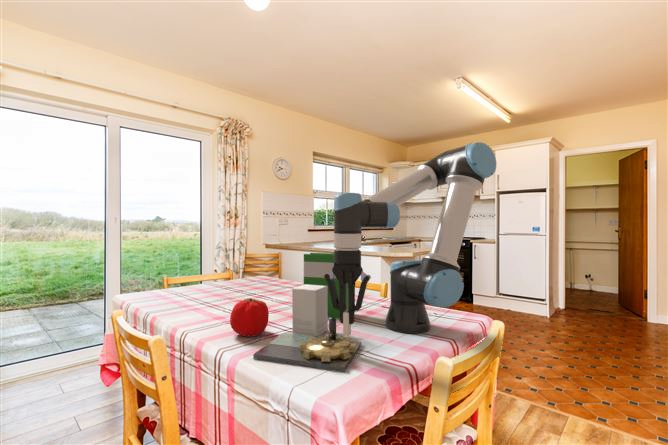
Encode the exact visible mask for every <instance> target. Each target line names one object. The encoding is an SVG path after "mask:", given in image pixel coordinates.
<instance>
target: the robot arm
mask: <svg viewBox="0 0 668 445" xmlns="http://www.w3.org/2000/svg"><path fill="white" fill-rule="evenodd" d="M496 170H497V159H496V155H495V153H494V151H493V149H492V148H491V147H490V146H489V145H488V144H486V143H484V142H479V141H476V142H473V143H470V142H469V143H468V144H466V145H462V146H459V147H456V148H451V149H449V150H446V151H443V152H441V153H439V154H438V155H436V156H434V157H432V158H431V159H429V160H427V161H426V162H424V163H423V164H421V165H419V166H418V167H417V169H416V171H414V172H412V173H410V174H409V175H406V176H404V177H403V178H401V179H399V180H397V181H396V182H394V183H393V184H391V185H389V186H387V187H385V188H383V189H381V190H379V191H378V192H376V193H374V194H372V195H371V196H368V197H366V198H365V199H364V200H363V199H362V195H361V194H360V193H357V192H341V193H337V194H335V196H334V201H333V248H334V251H333V253H334V266H333V268H332V271H331V272H329V273H327V274H325V275H324V277H325V279H326V281H327V282H328V286H329V291H330V295H331V300H332V304H333V308H334V309H337V310H339V311H340V318H339V323H340V324H342V331H343V332H342V338H343V337H346V338H349V337H350V336H351V334H352V325H353V324H354V323H355V312H358V311H360V309H361V308H362V306H363V303H364V302H363V301H364V297H365V293H366V289H367V285H368V283H369V281H370V280H371V278H372V276H371V275H370V274H367V273H365V272H364V269H363V267H362V251H361V250H360V249H361V248H362V228H363V229H390V228H395V227H397V225H398V224H399V222H400V219H401V211H400V207H399V206H401V205H403V204H404V203H406V202H408V201H410V200H412V199H413V198H414V197H416V196H418V195H420V194H422V193H423V192H425V191H427V190H429V191H430V190H434V189H436V188H438V187H441V186H444V185H447V186H448V187H447V190H446V194H445V198H444V201H443V204H442V208H441V210H440V211H441V212H440V215H439V218H438V221H437V224H436V228H435V231H434V234H433V238H432V242H431V245H430V249H429V253H428V254H425V255H424V256H422V259H421V260H418V259H417V260H398V261H393V262H391V264H390V270H389V274H390V303H389V304H390V305H389V307H388V311H387V314H386V316H385V327H386V328H387V329H389V330H391V331H394V332H398V333H405V334H420V333H425V332H428V331H430V330H431V321H430V318H429V314H428V312H427V309H426V305H425V304H428V306H429V305H430V306H431V307H438V308H450V307H451V306H453V305H455V304H456V303H457V302H458V301H459V300H460V299H461V296H462V295H463V292H464V287H465V285H464V284H465V283H464V282H463V277H462V274H460V270H461V266H460V265H459V263H458V258H459V254H460V250H461V247H462V243H463V239H464V237H465V232H466V229H467V226H468V222H469V218H470V214H471V211H472V207H473V203H474V199H475V196H476V192H478V191H480V190H481V189H483V186H484V183H485V179H489V178H490V177H491V176H493V175H494V174H495V172H496ZM334 275H335V277H336V278H337V280H338V281H339V299H338V295H337V290H336V286H335V281H334ZM359 278H360V280H361V283H360V286H359V289H358V293H357V294H358V295H357V298H356V282H357V281H358V280H359ZM346 283H348V288H349V305H348V310H345V309H346V308H347V307H346Z"/></svg>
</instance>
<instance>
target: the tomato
mask: <svg viewBox="0 0 668 445" xmlns="http://www.w3.org/2000/svg"><path fill="white" fill-rule="evenodd" d="M269 314H270V313H269V308H268V305H267V303H266V302H265V301H263V300H259V299H255V298H245V299H243V300H239V302H238V301H237V303H235V304H234V306H233V307H232V310H231V312H230V318H229V323H230V324H229V325H230V326H231V327H230V328H231V329H232V330H233V332H234V333H236V334H238V335H240V336H244V337H247V338H249V337H256V336H258V335H261V334H262V333H264V332H265V330H266V328H267V326H268V323H269V318H270V316H269Z"/></svg>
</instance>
